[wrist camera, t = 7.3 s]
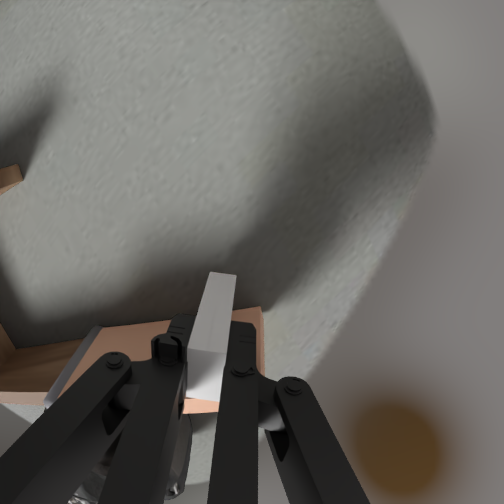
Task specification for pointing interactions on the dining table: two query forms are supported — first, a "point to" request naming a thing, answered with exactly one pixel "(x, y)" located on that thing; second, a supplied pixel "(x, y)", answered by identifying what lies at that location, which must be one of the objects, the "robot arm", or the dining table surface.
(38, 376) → the frame
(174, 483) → the camera
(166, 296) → the dining table surface
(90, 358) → the hatch
